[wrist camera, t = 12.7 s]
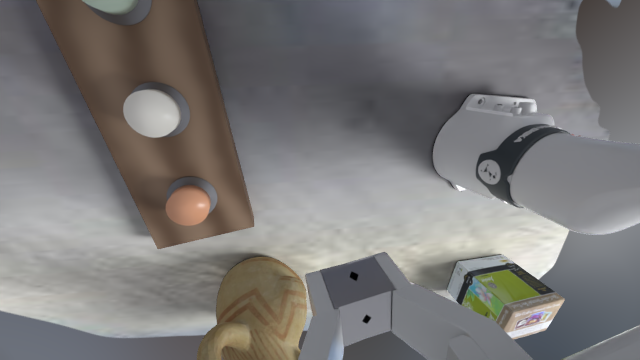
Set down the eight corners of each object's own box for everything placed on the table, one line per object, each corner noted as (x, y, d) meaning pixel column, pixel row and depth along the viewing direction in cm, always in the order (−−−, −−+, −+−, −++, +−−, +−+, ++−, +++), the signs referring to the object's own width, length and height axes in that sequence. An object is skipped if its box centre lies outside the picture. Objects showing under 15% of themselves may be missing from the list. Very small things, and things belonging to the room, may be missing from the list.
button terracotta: (204, 181, 33) (202, 187, 31) (215, 213, 35) (213, 220, 33) (164, 189, 32) (159, 196, 30) (177, 221, 34) (173, 229, 32)
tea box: (445, 290, 64) (495, 346, 51) (456, 259, 60) (513, 311, 47) (490, 282, 68) (548, 332, 55) (503, 253, 64) (568, 299, 51)
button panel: (173, -90, 26) (163, -110, 23) (253, 216, 42) (254, 227, 39) (11, -91, 23) (-22, -114, 20) (164, 237, 39) (157, 250, 36)
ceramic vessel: (264, 326, 52) (276, 513, 30) (183, 286, 43) (115, 508, 21) (323, 275, 51) (381, 430, 29) (252, 222, 42) (257, 389, 20)
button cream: (172, 86, 28) (167, 87, 26) (187, 129, 30) (183, 133, 28) (123, 92, 27) (114, 93, 25) (142, 137, 29) (135, 141, 27)
